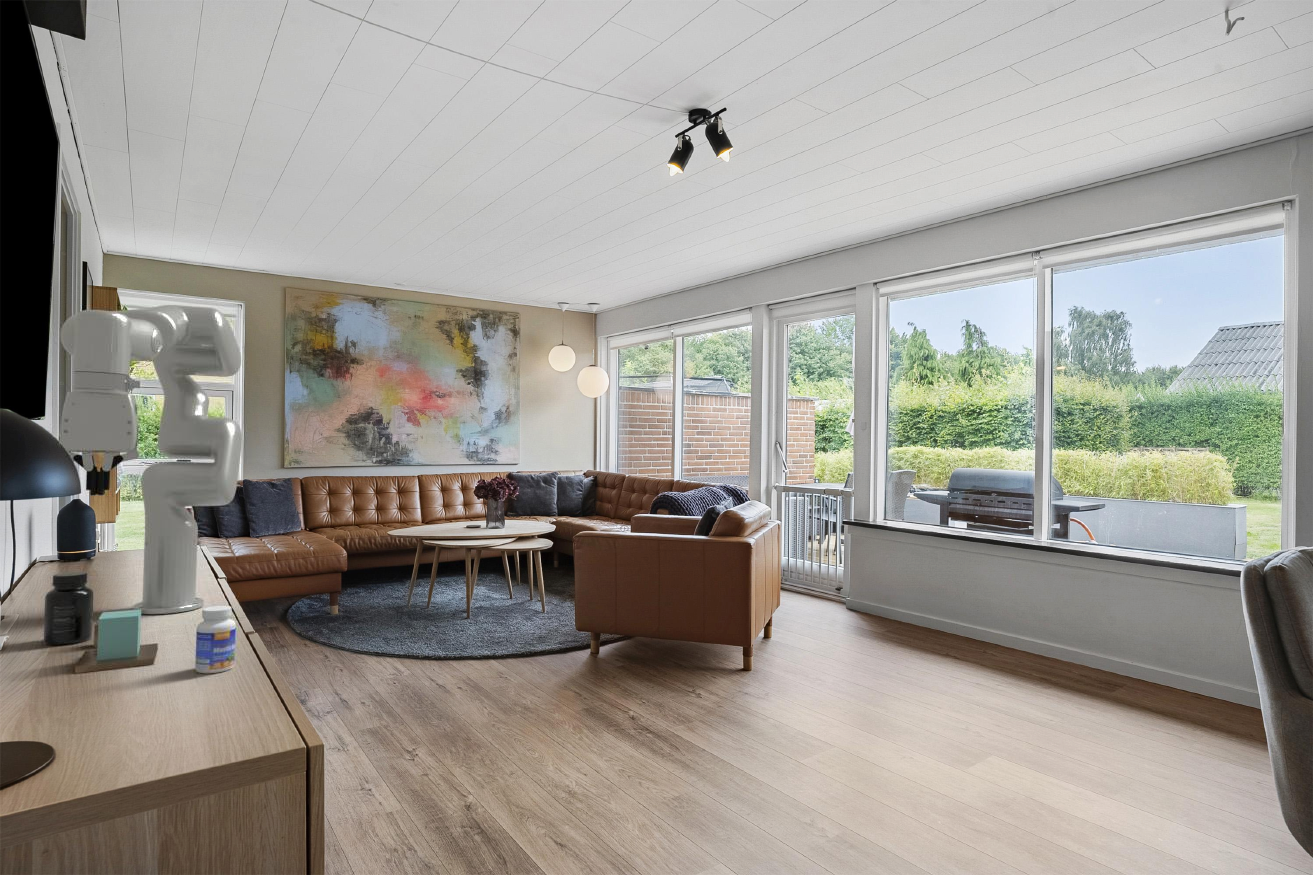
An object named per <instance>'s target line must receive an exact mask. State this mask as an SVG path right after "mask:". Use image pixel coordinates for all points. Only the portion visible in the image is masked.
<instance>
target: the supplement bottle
mask: <svg viewBox="0 0 1313 875" xmlns="http://www.w3.org/2000/svg"><path fill="white" fill-rule="evenodd" d="M87 583H88V572H85V571H84V572H83V571H74V572H61V573H56V574H54V575H52V583H51V586H52V587H53V588H52V589H51V590H49V591H47V593H46V594H45V596H44V611H43V612H44V613H43V614H44V615H43V643H44V644H45V645H47V646H64V645H72V644H73V645H74V644H77V643H78V644H79V643H83V642H86V641H88V640H90V639H92V636H93V631H94V629H93V628H94V627H93V626H94V625H93V624H94V590H93V589H92V588H90V587H89V586H87Z"/></svg>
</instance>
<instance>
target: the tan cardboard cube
mask: <svg viewBox="0 0 1313 875" xmlns="http://www.w3.org/2000/svg"><path fill="white" fill-rule="evenodd" d="M93 626H94V627H93V628H94V629H93V631H94V632H93V633H94V634H93V649H97V648H98V620H97V621H96V622H95V624H94V625H93Z"/></svg>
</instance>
